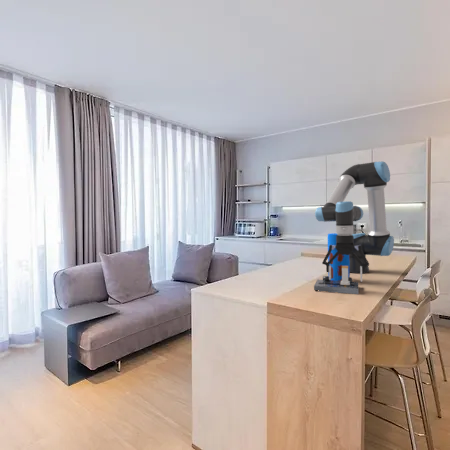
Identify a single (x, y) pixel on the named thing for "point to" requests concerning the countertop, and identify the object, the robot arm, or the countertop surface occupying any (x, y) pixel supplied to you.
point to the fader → (345, 276)
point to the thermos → (337, 260)
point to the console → (336, 286)
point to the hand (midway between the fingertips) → (345, 280)
